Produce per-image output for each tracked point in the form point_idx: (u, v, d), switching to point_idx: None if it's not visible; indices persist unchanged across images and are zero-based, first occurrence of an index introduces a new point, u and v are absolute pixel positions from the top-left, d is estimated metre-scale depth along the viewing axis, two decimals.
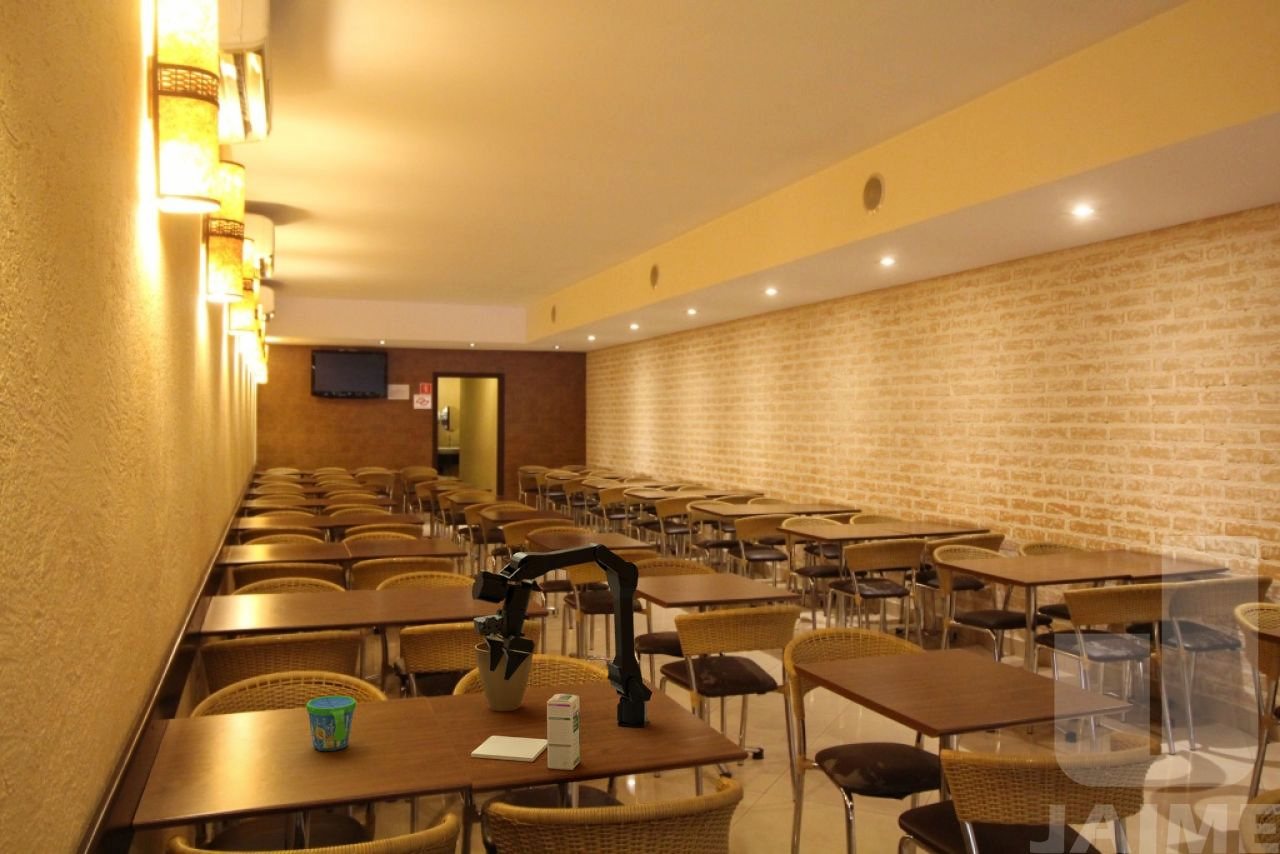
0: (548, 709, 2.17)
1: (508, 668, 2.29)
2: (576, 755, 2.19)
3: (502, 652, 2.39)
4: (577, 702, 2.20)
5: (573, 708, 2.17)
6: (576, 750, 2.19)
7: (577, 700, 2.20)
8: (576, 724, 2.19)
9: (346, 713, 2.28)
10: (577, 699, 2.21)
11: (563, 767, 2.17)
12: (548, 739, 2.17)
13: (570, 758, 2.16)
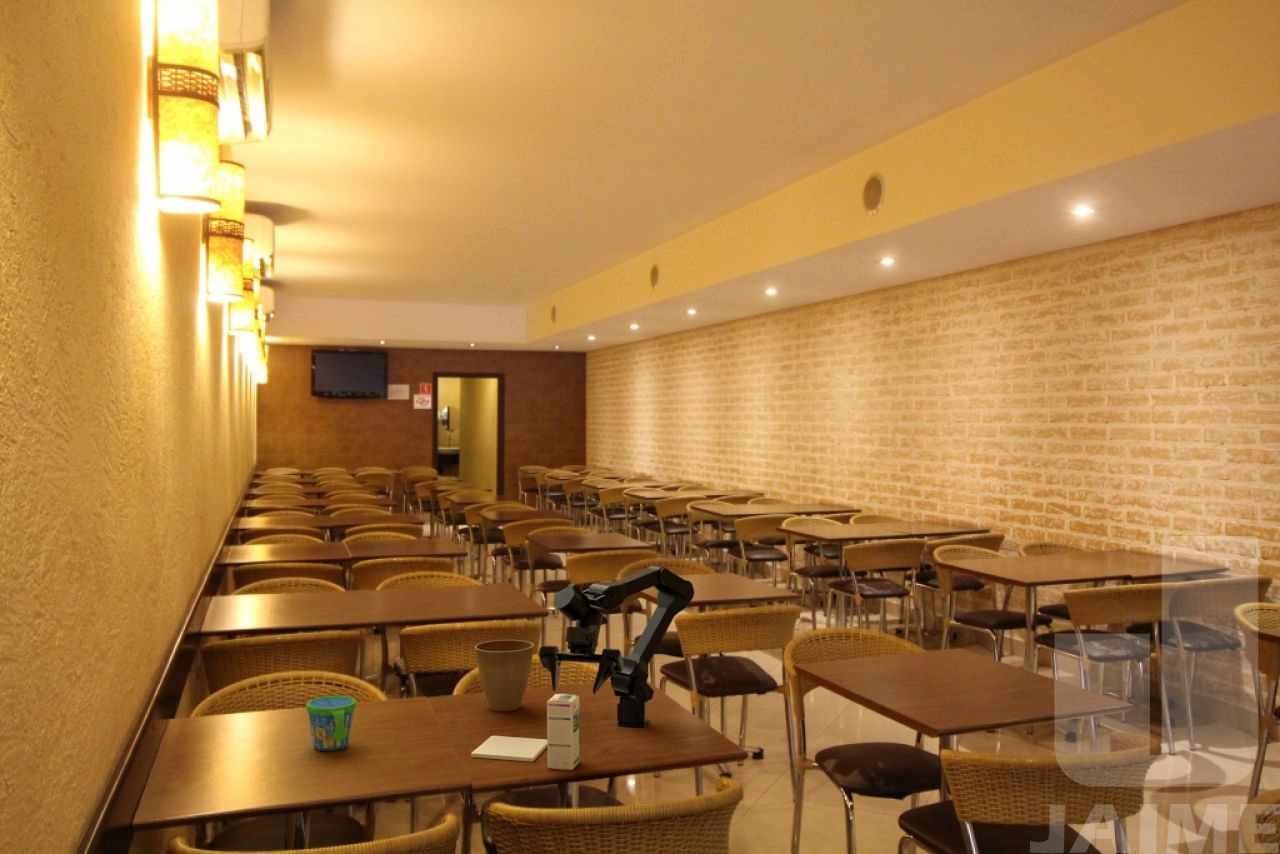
0: (548, 709, 2.17)
1: (600, 681, 2.28)
2: (576, 755, 2.19)
3: (558, 676, 2.33)
4: (577, 702, 2.20)
5: (573, 708, 2.17)
6: (576, 750, 2.19)
7: (577, 700, 2.20)
8: (576, 724, 2.19)
9: (346, 713, 2.28)
10: (577, 699, 2.21)
11: (563, 767, 2.17)
12: (548, 739, 2.17)
13: (570, 758, 2.16)
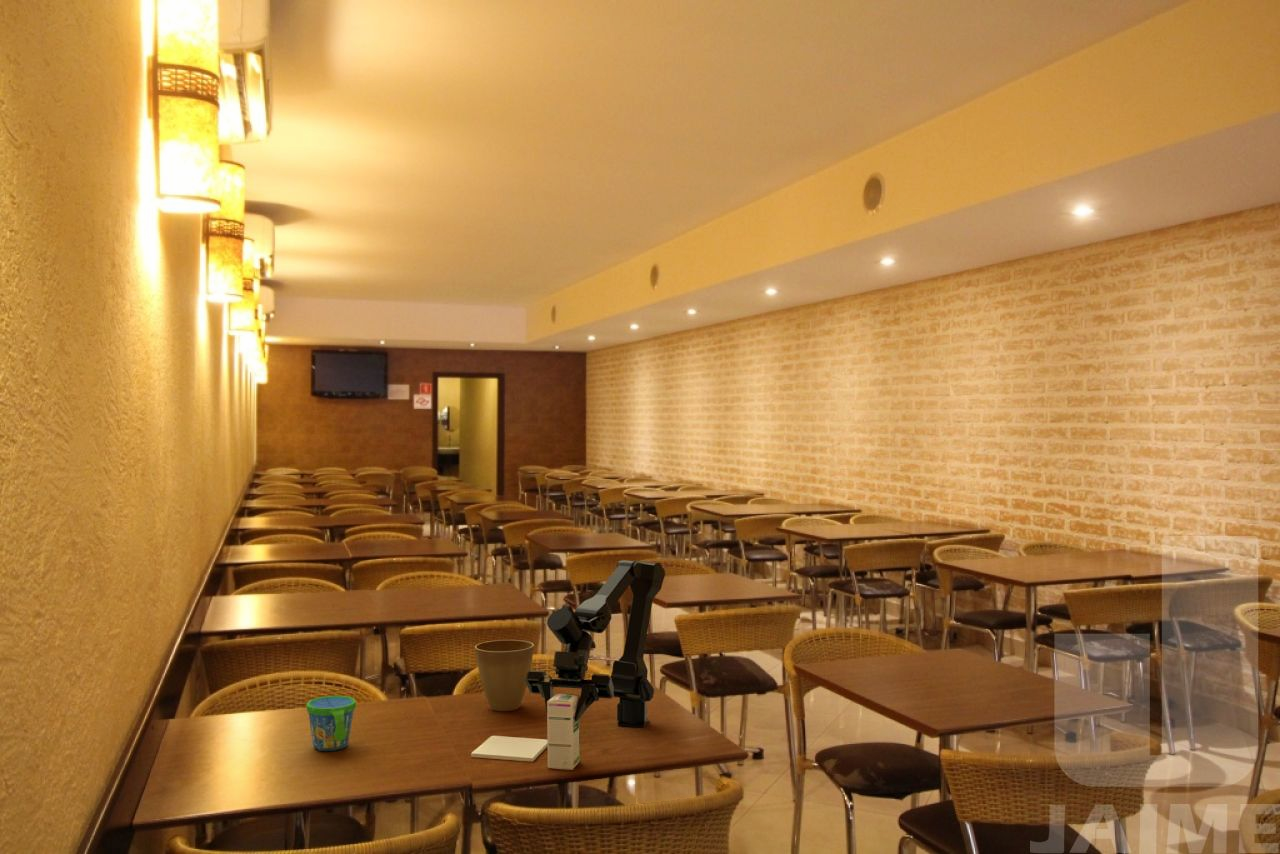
0: (548, 709, 2.17)
1: (582, 707, 2.19)
2: (576, 755, 2.19)
3: None
4: (577, 702, 2.20)
5: (573, 708, 2.17)
6: (576, 750, 2.19)
7: (577, 700, 2.20)
8: (576, 724, 2.19)
9: (346, 713, 2.28)
10: (578, 699, 2.20)
11: (563, 767, 2.17)
12: (548, 739, 2.17)
13: (570, 758, 2.16)
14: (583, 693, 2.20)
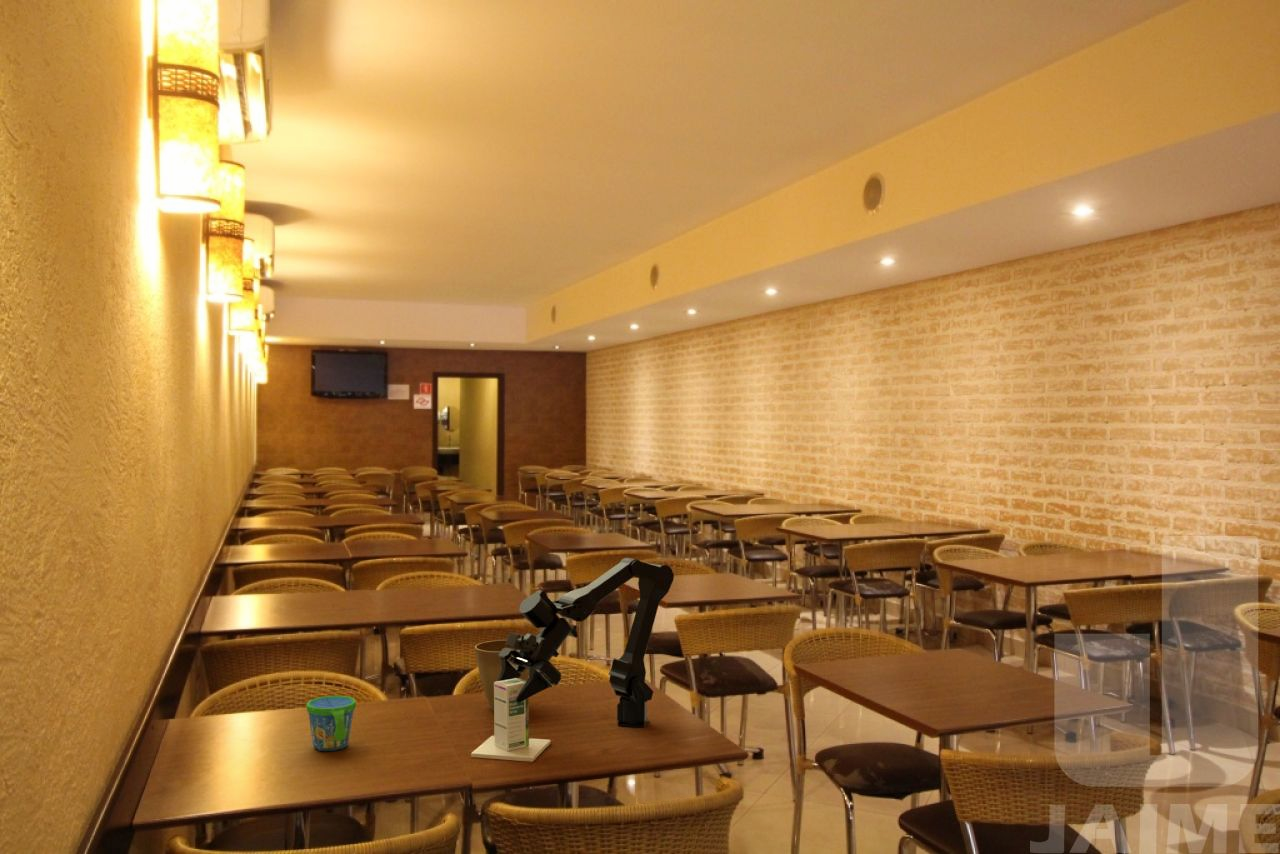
0: (494, 690, 2.30)
1: (526, 690, 2.25)
2: (517, 739, 2.27)
3: None
4: None
5: (509, 693, 2.26)
6: (517, 734, 2.27)
7: (522, 686, 2.28)
8: (517, 709, 2.27)
9: (346, 713, 2.28)
10: None
11: (502, 747, 2.27)
12: (494, 718, 2.30)
13: (506, 740, 2.26)
14: (530, 677, 2.26)
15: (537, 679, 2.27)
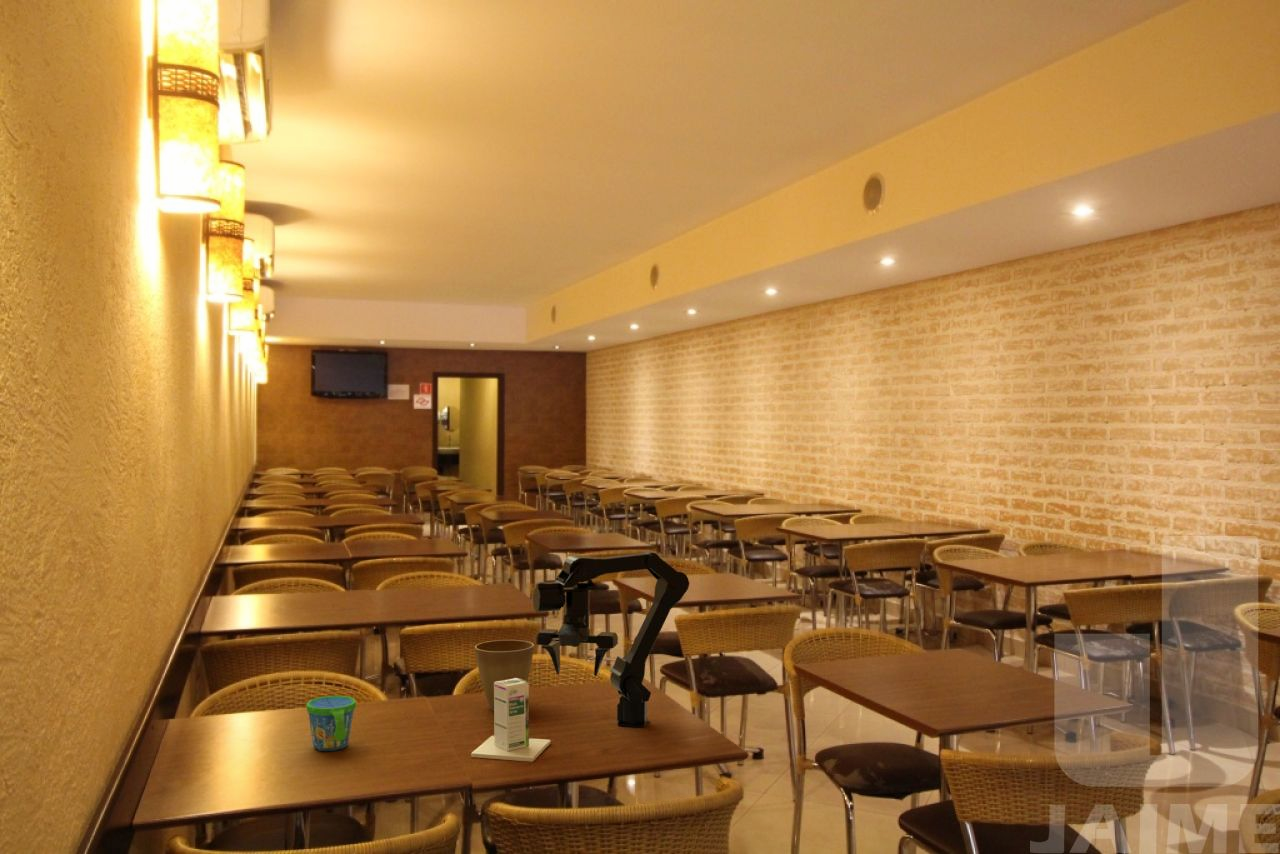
0: (494, 690, 2.30)
1: (599, 665, 2.43)
2: (517, 739, 2.27)
3: (559, 653, 2.47)
4: (522, 688, 2.28)
5: (509, 693, 2.26)
6: (517, 734, 2.27)
7: (522, 686, 2.28)
8: (517, 709, 2.27)
9: (346, 713, 2.28)
10: (524, 685, 2.28)
11: (502, 747, 2.27)
12: (494, 718, 2.30)
13: (506, 740, 2.26)
14: (597, 654, 2.42)
15: None
